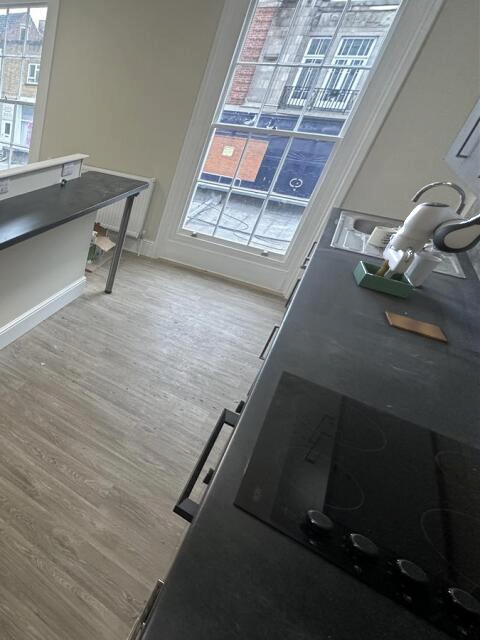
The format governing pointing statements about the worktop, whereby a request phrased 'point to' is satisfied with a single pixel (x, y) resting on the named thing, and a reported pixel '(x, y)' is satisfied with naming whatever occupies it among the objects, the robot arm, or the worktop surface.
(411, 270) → the cup
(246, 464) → the worktop surface
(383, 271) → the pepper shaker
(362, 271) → the basin
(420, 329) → the mat
